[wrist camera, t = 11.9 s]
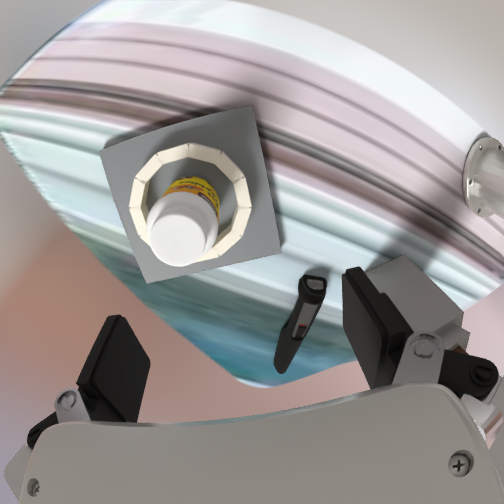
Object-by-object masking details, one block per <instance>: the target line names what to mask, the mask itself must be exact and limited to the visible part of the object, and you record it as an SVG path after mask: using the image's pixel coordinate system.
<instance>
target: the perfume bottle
mask: <svg viewBox="0 0 504 504" xmlns="http://www.w3.org/2000/svg"><path fill="white" fill-rule="evenodd" d="M365 274H366V275H367V276H368V278H369V279H370V280H371V282H372V283H373V284H374V286H375V287H376V288H377V290H378V291H379V292H380V293H383V292H384V293H386V294H387V295H388V297H389V298H390V299H391V301H392V302H393V303H394V305H395V306H396V307H397V309H398V310H399V311H400V313H401V314H402V316H403V317H404V318H405V320H406V321H407V323H408V324H409V325H410V327H411V328H412V330H413V331H414V332H415V333H416V332H419V331H430V332H433V333H435V334H437V335H438V336H440V338H441V339H442V340H443V342H444V349H447V350H451V351H455V352H459V353H463V354H467V355H469V354H468V353H466V348H467V344H468V340H469V336H470V332H468V331H466V330H464V329H462V328H461V326H462V320H463V314H464V312H463V311H462V310H461V309H460V308H459V307H458V306H457V305H456V304H455V303H454V302H453V301H452V300H451V299H450V298H449V297H448V296H447V295H446V294H445V293H444V292H443V291H442V290H441V289H440V288H439V287H438V286H437V285H436V284H435V283H434V282H433V281H432V280H431V279H430V278H429V277H428V276H427V275H426V274H425V273H423V272H422V271H421V270H420V269H419V268H418V267H417V266H416V265H415V264H414V263H413V262H411V261H410V260H409V259H408V258H407V257H406V256H405V255H404V254H403V255H401V256H399V257H397V258H395V259H393V260H391V261H389V262H387V263H384V264H382V265H380V266H378V267H376V268H374V269H372V270H370V271H367V272H365Z"/></svg>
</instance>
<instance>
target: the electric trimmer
mask: <svg viewBox="0 0 504 504" xmlns="http://www.w3.org/2000/svg"><path fill="white" fill-rule="evenodd" d="M326 287H327V282H326V280H325V278H322V277H316V276H310V275H304V276H303V278H302V279H300V280H299V284H298V292H299V297H298V300H297V303H296V305H295V308H294V311H293V313H292V316H291V319H290V321H289V323H288V325H287V326H286V327H285V328H283V329H282V330H281V333H280V336H279V340H278V344H277V348H276V352H275V357H274V366H275V368H276V370H277V372H278V373H280V374H283V373H285V372H286V370H287V368H288V367H289V365H290V363H291V361H292V359H293V358H294V356H295V354H296V352H297V350H298V348H299V346H300V345H301V343H302V341H303V339H304V338H305V336H306V334H307V333H308V331H309V329H310V327H311V325H312V323H313V321H314V319H315V317H316V315H317V313H318V311H319V309H320V307H321V305H322V303H323V300H324V298H325V294H326ZM295 329H296V330H295Z"/></svg>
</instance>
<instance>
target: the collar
mask: <svg viewBox="0 0 504 504" xmlns="http://www.w3.org/2000/svg"><path fill="white" fill-rule="evenodd" d="M99 153H100V157H101V160H102V164H103V167H104V170H105V174H106V177H107V180H108V183H109V186H110V190H111V193H112V196H113V199H114V202H115V204H116V207H117V210H118V213H119V216H120V219H121V221H122V224H123V227H124V229H125V232H126V235H127V237H128V240H129V242H130V245H131V247H132V250H133V252H134V255H135V257H136V260H137V262H138V265H139V267H140V269H141V272H142V274H143V276H144V279H145V281H146V283H151V282H156V281H160V280H165V279H169V278H174V277H178V276H183V275H187V274H192V273H196V272H200V271H205V270H209V269H214V268H218V267H223V266H227V265H231V264H236V263H240V262H244V261H249V260H253V259H257V258H262V257H266V256H271V255H275V254H279V253H282V251H281V246H280V240H279V235H278V229H277V224H276V219H275V213H274V208H273V203H272V198H271V193H270V188H269V183H268V178H267V173H266V168H265V163H264V158H263V153H262V148H261V144H260V139H259V134H258V129H257V125H256V120H255V116H254V111H253V107H252V105H251V106H246V107H241V108H236V109H231V110H227V111H222V112H218V113H214V114H210V115H206V116H202V117H198V118H194V119H191V120H187V121H184V122H180V123H177V124H173V125H170V126H167V127H164V128H160V129H157V130H154V131H151V132H148V133H145V134H142V135H139V136H137V137H134V138H131V139H128V140H126V141H123V142H120V143H118V144H115V145H113V146H110V147H108V148H105V149H103V150H100V151H99ZM185 176H199V177H202V178H205V179H206V180H208V181H209V182H210V183H212V184H213V186H214V187H215V188H216V190H217V192H218V195H219V200H220V207H219V223H218V234H217V238H216V241H215V243H214V245H213V246H212V248H211V249H210V250H209V251H208V252H207V253H206V254H205V255H203V256H202V257H200V258H199V259H198V260H196V261H195V262H194V263H192V264H190V265H186V266H171V265H168V264H166V263H164V262H162V261H161V260H160V259H159V258H157V257H156V255H155V254H154V253H153V251H152V249H151V246H150V241H149V237H148V234H147V218H148V215H149V212H150V210H151V208H152V207H153V205H154V204H155V203H156V202H157V201H158V199H159V198H160V197H161V196H162V195H163V193H164V192H165V191H166V190H167V189H168V188H169V186H170V185H171V184H172V183H173V182H174V181H176V180H177V179H179V178H181V177H185Z"/></svg>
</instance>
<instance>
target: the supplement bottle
mask: <svg viewBox="0 0 504 504" xmlns="http://www.w3.org/2000/svg"><path fill="white" fill-rule="evenodd" d="M219 207H220V200H219V195H218V192H217V190H216V188H215V187H214V186H213V184H212V183H210V182H209V181H208V180H206V179H205V178H202V177H199V176H185V177H181V178H179V179H177V180H176V181H174V182H173V183H172V184H171V185H170V186H169V188H168V189H167V190H166V191H165V192H164V193H163V195H162V196H161V197H160V198H159V199H158V201H157V202H156V203H155V204H154V205H153V207H152V208H151V210H150V212H149V215H148V218H147V234H148V237H149V241H150V246H151V249H152V251H153V253H154V254H155V255H156V257H157V258H159V259H160V260H161V261H162V262H164V263H166V264H168V265H171V266H186V265H190V264H192V263H194V262H195V261H196V260H198V259H199V258H200V257H202V256H203V255H205V254H206V253H207V252H208V251H209V250H210V249H211V248H212V246H213V245H214V243H215V241H216V238H217V234H218V223H219Z"/></svg>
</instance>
